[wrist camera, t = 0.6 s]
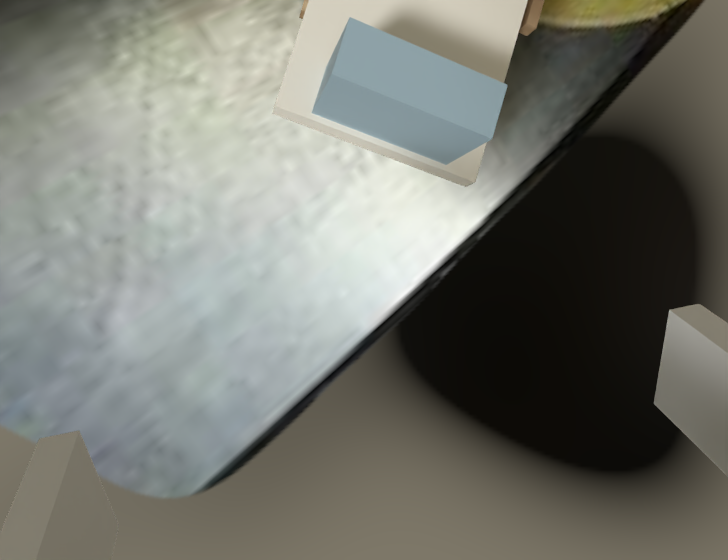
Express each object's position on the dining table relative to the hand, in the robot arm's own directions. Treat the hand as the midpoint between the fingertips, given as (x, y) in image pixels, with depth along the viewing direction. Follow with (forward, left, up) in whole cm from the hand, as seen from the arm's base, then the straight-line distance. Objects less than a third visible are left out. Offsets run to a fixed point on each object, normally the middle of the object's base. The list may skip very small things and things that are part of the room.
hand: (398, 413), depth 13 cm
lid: (-14, +10, -16) cm, 23 cm away
